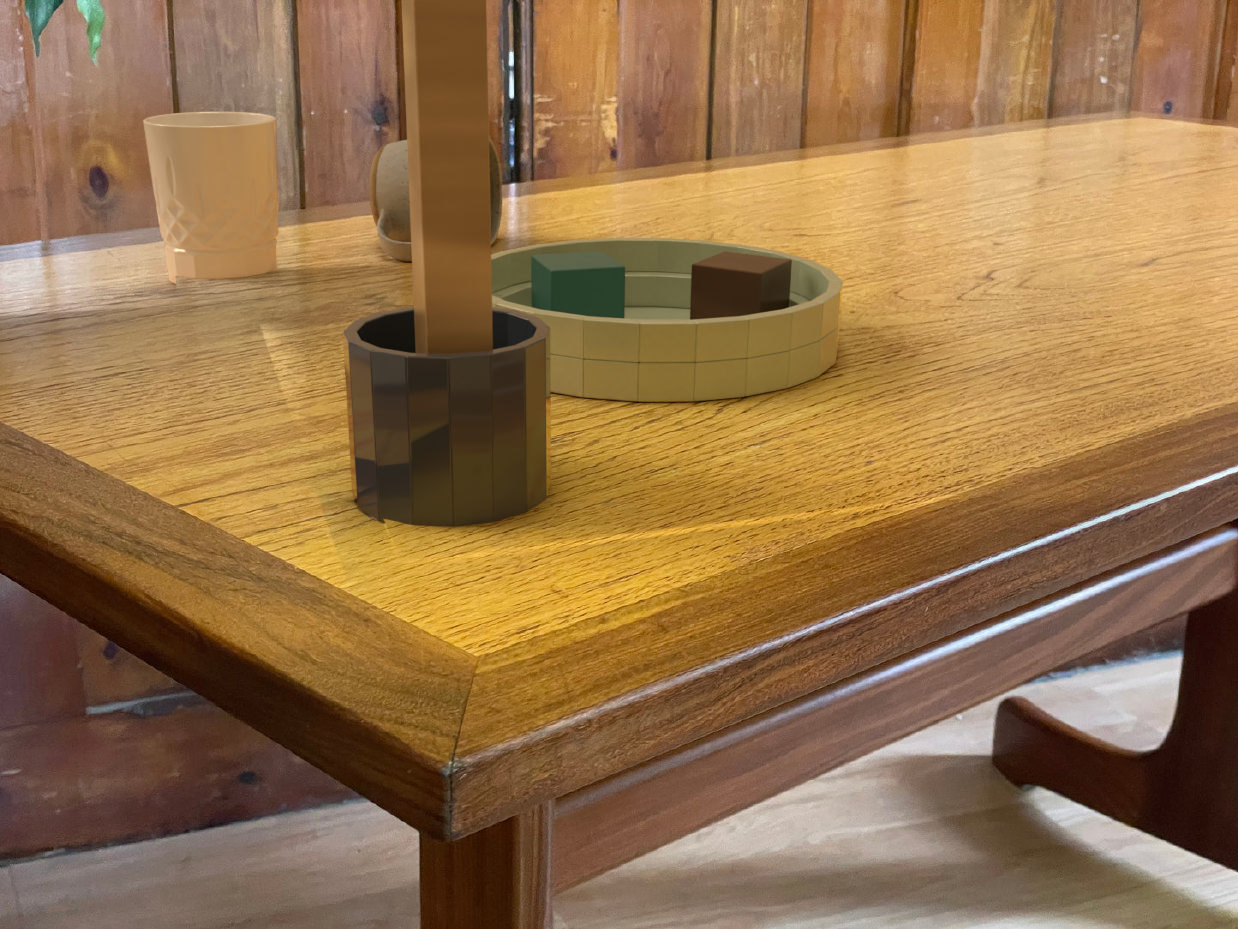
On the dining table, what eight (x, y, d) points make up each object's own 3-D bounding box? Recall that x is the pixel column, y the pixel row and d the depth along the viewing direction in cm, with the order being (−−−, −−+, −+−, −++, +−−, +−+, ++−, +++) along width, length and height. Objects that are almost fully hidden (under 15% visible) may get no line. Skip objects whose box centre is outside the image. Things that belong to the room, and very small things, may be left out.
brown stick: (420, 490, 53) (398, -71, 46) (482, 484, 53) (469, -70, 46) (432, 513, 50) (411, -72, 43) (496, 506, 51) (485, -70, 44)
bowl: (429, 326, 78) (426, 247, 76) (745, 304, 84) (749, 230, 82) (514, 435, 60) (513, 336, 59) (905, 398, 66) (913, 307, 65)
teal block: (531, 327, 75) (530, 254, 73) (601, 322, 76) (602, 250, 74) (551, 346, 71) (551, 270, 70) (624, 341, 72) (625, 266, 71)
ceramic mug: (398, 230, 103) (393, 126, 101) (505, 235, 102) (502, 129, 99) (351, 262, 94) (344, 148, 91) (468, 268, 92) (465, 152, 90)
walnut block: (721, 322, 76) (724, 250, 75) (788, 332, 74) (792, 259, 73) (688, 338, 73) (691, 263, 72) (757, 349, 71) (761, 273, 70)
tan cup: (132, 283, 86) (114, 120, 83) (218, 260, 93) (204, 108, 90) (230, 298, 83) (216, 129, 80) (312, 273, 90) (302, 116, 86)
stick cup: (342, 482, 55) (331, 311, 52) (522, 464, 57) (520, 299, 55) (371, 556, 48) (360, 364, 46) (573, 532, 51) (573, 348, 48)
